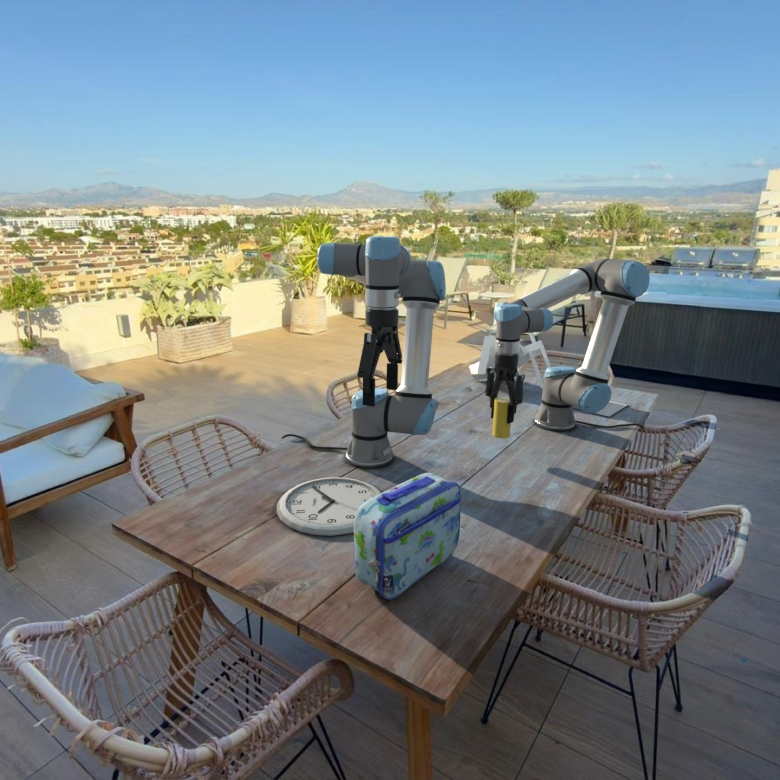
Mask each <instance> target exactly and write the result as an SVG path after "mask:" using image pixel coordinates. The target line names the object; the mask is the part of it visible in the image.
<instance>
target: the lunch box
mask: <svg viewBox="0 0 780 780" xmlns="http://www.w3.org/2000/svg"><path fill="white" fill-rule="evenodd" d="M461 503H462V502H461V487H460V485H459V483H457V482H455V481H448V480H446V479H445V478H442V477H440V476H439V475H437V474H434V473H432V472H424V473H422V474H419V475H416V476H415V477H412V478H409V479H407V480H406V481H404V482H402V483H399V484H398V485H395V486H394V487H391V488H389V489H387V490H385V491H383V492H382V493H381V494H379V495H377V496H375V497H373V498H371V499H369V500H367V501H365V502H364V503H363V504H362V505H361V506H360V508H359V509H358V511H357V513H356V515H355V519H354V532H353V546H354V547H353V548H354V571H355V572H354V573H355V576H356V579H357V580H358V581H359V582H360V583H363V584H364V585H367V586H368V587H370V588H372V589H373V590H374V591H376V592H378V594H379V595H380V596H381V597H382V598H384V599H386V600H394V599H396V598H398V597H399V596H400V595H402V594H403V593H404V592H405V591H406V590H407V589H409V588H410V587H412V586H413V585H414V584H416V583H417V582H418V581H420V580H421V579H422V578H424V577H425V576H426V575H427V574H428V573H429V572H430V571H432V570H433V569H435V568H437V567H438V566H439V565H441V564H443V563H444V562H445V561H447V560H448V559H449V558H451V556H452V555H453V554H454V552H455V550H456V549H457V546H458V543H459V539H460V531H461V510H462V509H461V508H462V507H461Z"/></svg>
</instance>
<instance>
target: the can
mask: <svg viewBox="0 0 780 780" xmlns="http://www.w3.org/2000/svg"><path fill="white" fill-rule="evenodd" d="M509 404H510V398H509V397H506V396H498V397H496V398H495V402H494V417H493V419H492V434H491V435H492V436H493V437H494V438H496V439H508V438H510V436H511V424H512V423H510V424H508V423H507V415H508V405H509Z"/></svg>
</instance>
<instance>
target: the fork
mask: <svg viewBox="0 0 780 780" xmlns="http://www.w3.org/2000/svg"><path fill="white" fill-rule="evenodd" d="M432 399H435V400H436V401H437V402H438V401H439V396H435V395H432Z"/></svg>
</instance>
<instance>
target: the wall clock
mask: <svg viewBox="0 0 780 780" xmlns="http://www.w3.org/2000/svg"><path fill="white" fill-rule="evenodd" d="M381 493H383V492H382V491H381V490H380V489H379V488H377V487H376V486H374V485H372V484H371V483H369V482H365V481H362V480H359V479H355V478H349V477H338V476H337V477H335V476H333V477H332V476H331V477H322V478H317V479H312V480H307V481H305V482H302V483H299V484H297V485H295V486H293V487H292V488H290V489H288V490H287V491H286V492H285V493H284V494H283V495H281V496H280V498H279V499H278V502H277V503H276V515H277V517H278V518H279V520H280V521H281V522H282V523H283V524H285V525H286V526H287V527H288V528H290V529H293V530H295V531H297V532H299V533H303V534H308V535H312V536H327V537H328V536H329V537H331V536H332V537H333V536H342V535H350V534H352V533H353V534H354V519H355V515H356V513H357V511H358V509H359V508H360V506H361V505H362V504H363V503H364V502H365V501H367V500H369V499H371V498H373V497H375V496H377V495H379V494H381Z"/></svg>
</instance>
